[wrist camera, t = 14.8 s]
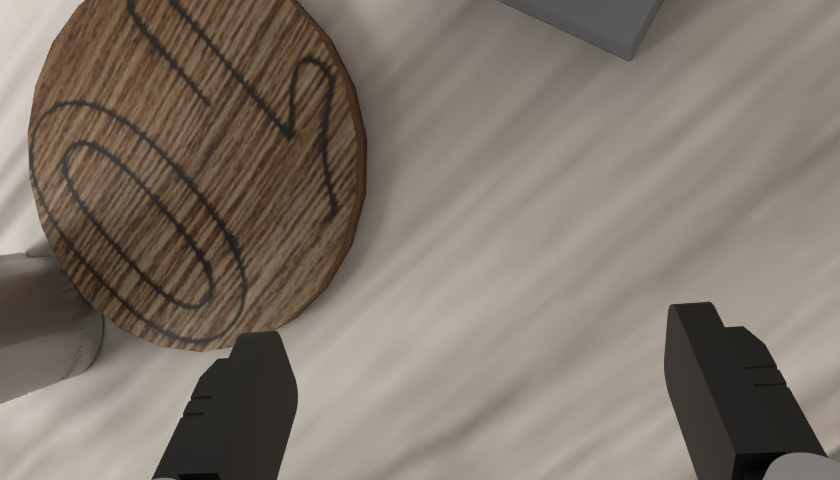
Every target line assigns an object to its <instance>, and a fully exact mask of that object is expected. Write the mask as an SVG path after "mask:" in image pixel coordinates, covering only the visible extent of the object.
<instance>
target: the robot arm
mask: <svg viewBox="0 0 840 480" xmlns="http://www.w3.org/2000/svg"><path fill="white" fill-rule="evenodd" d="M102 331H103V322H102V313H101V312H100V311H99V310H97V309H96V308H95V307H94V306H92V305H91V304H90V303H89V302H88V301H87V300H86V299H85V297H84V296H83V295H82V294H81V292H80V291H79V290H78V288H77V287H76V286H75V284H74V283H73V282H72V281H71V279H70V278H69V277H68V275H67V274H66V273H65V271H64V270H63V269H62V268H61V266H60V264H59V262H58V260H57V258H56V257H49V256H43V257H36V258H31V257H28V256H27V255H25V254H24V253H16V254H9V255H1V256H0V404H2V403H5V402H7V401H10V400H13V399H15V398H18V397H21V396H23V395H26V394H29V393H31V392H34V391H37V390H39V389H42V388H44V387H47V386H50V385H52V384H55V383H58V382H60V381H63V380H66V379H68V378H71V377H74V376H76V375H78V374H80V373H81V372H83V371H84V370H86V369H87V368H88V367H89V365H90V364H91V363H92V362H93V361H94V359H95V357H96V355H97V353H98V351H99V348H100V344H101V340H102ZM664 372H665V380H666V385H667V390H668V393H669V396H670V399H671V402H672V405H673V408H674V411H675V414H676V417H677V420H678V422H679V425H680V428H681V431H682V434H683V437H684V440H685V443H686V446H687V449H688V452H689V455H690V458H691V460H692V463H693V466H694V469H695V472H696V475H697V478H698V480H840V464H839V463H837V462H835V461H833V460H831V459H829V458H828V456H827V455H826V453H825V452H824V450H823V448H822V446H821V444H820V443H819V441H818V439H817V437H816V435H815V434H814V432H813V430H812V428H811V426H810V425H809V423H808V421H807V419H806V417H805V416H804V414H803V412H802V410H801V408H800V407H799V405H798V403H797V401H796V399H795V398H794V396H793V394H792V392H791V390H790V388H787V385H786V381H785V379H784V378H783V376H782V374H781V372H780V370H777V365H776V363H775V361H774V360H773V358H772V356H771V354H770V352H769V351H768V349H767V347H766V345H765V344H764V343H763V342H762V341H760V340H759V339H758V338H757V337H756V336H754V335H753V334H752V333H751V332H750V331H748V330H747V329H746V328H745V327H743V326H739V327H724V325H723V323H722V321H721V319H720V317H719V315H718V313H717V311H716V309H715V307H714V305H713V304H712V303H711V302H699V303H684V304H671V305H670V306H669V310H668V318H667V331H666V343H665V355H664ZM297 404H298V390H297V384H296V380H295V377H294V374H293V371H292V368H291V365H290V362H289V360H288V357H287V354H286V351H285V348H284V345H283V342H282V339H281V337H280V335H279V333H278V332H277V331H265V332H251V333H241V334H240V335H239V336H238V338H237V340H236V342H235V344H234V347H233V349H232V351H231V353H230V356H229V358H223V359H217V360H216V361H215V362H214V363H213V364H212V365H211V366H210V367H209V368H208V370H207V371H206V372H205V373H204V374H203V375H202V376H201V377H200V379H199V381H198V383H197V385H196V387H195V389H194V391H193V393H192V395H191V401H189V402H188V404H187V406H186V408H185V410H184V412H183V418H181V419H180V421H179V423H178V425H177V427H176V429H175V431H174V433H173V435H172V438H171V440H170V442H169V444H168V446H167V448H166V450H165V452H164V454H163V457H162V459H161V461H160V463H159V465H158V467H157V469H156V471H155V473H154V476H153V478H152V479H151V480H277V477H278V473H279V470H280V466H281V463H282V459H283V456H284V452H285V449H286V445H287V442H288V438H289V435H290V431H291V428H292V425H293V421H294V418H295V414H296V410H297Z"/></svg>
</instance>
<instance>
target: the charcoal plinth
mask: <svg viewBox="0 0 840 480" xmlns="http://www.w3.org/2000/svg"><path fill="white" fill-rule="evenodd" d="M498 1H500V2H502V3H504V4H506V5H509V6H511V7H513V8H515V9H517V10H519V11H522V12H524V13H526V14H528V15H530V16H532V17H535V18H537V19H539V20H541V21H543V22H545V23H548V24H550V25H552V26H554V27H556V28H558V29H561V30H563V31H565V32H567V33H569V34H571V35H574V36H576V37H578V38H580V39H582V40H584V41H587V42H589V43H591V44H593V45H595V46H597V47H600V48H602V49H604V50H606V51H608V52H610V53H613V54H615V55H617V56H619V57H621V58H623V59H626V60H628V61H631V59H632V57H633V55H634V53H635V52H636V50H637V48H638V46H639V44H640V42H641V41H642V39H643V37H644V35H645V33H646V31H647V30H648V28H649V26H650V24H651V22H652V21H653V19H654V17H655V15H656V13H657V11H658V10H659V8H660V6H661V4H662V2H663V0H498Z"/></svg>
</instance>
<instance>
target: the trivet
mask: <svg viewBox="0 0 840 480" xmlns="http://www.w3.org/2000/svg"><path fill="white" fill-rule="evenodd" d="M28 147H29V171H30V182H31V186H32V190H33V194H34V199H35V203H36V207H37V211H38V215H39V219H40V223H41V226H42V228H43V230H44V232H45V235H46V237H47V239H48V241H49V243H50V245H51V247H52V249H53V251H54V253H55V256H56V258H57V260H58V262H59V264H60V266H61V268H62V269H63V270H64V271H65V273H66V274H67V275H68V277H69V278H70V279H71V281H72V282H73V283H74V284H75V286H76V287H77V288H78V290H79V291H80V292H81V294H82V295H83V296H84V297H85V299H86V300H87V301H88V302H89V303H90V304H91V305H92V306H94V307H95V308H96V309H97V310H99V311H100V312H101V313H102V314H104V315H105V316H106V317H107V318H108V319H110V320H111V321H112V322H113V323H115V324H116V325H117V326H118V327H120V328H121V329H122V330H125V331H127V332H129V333H131V334H134V335H136V336H138V337H140V338H142V339H145V340H147V341H149V342H151V343H154V344H156V345H158V346H161V347H168V348H175V349H183V350H190V351H197V352H205V351H211V350H217V349H223V348H229V347H234V344H235V342H236V340H237V338H238V336H239V335H240V334H241V333H251V332H265V331H273V330H275V329H277V328H279V327H281V326H283V325H285V324H286V323H288V322H290V321H292V320H294V319H296V318H297V317H298V316H299V315H300V314H301V313H302V312H303V311H304V310H305V309H306V308H307V307H308V306H309V305H310V304H311V303H312V302H313V301H314V300H315V299H316V298H317V297H318V296H319V295H320V294H321V293H322V292H323V291H324V290H325V289H326V288H327V287H328V286H329V284H330V282H331V281H332V279H333V277H334V275H335V274H336V272H337V270H338V268H339V267H340V265H341V263H342V261H343V260H344V258H345V256H346V254H347V253H348V251H349V249H350V247H351V246H352V244H353V240H354V236H355V232H356V229H357V225H358V221H359V218H360V214H361V210H362V207H363V203H364V199H365V195H366V163H367V138H366V133H365V129H364V124H363V120H362V116H361V111H360V107H359V102H358V98H357V93H356V89H355V86H354V84H353V82H352V80H351V78H350V76H349V74H348V72H347V70H346V68H345V66H344V64H343V62H342V60H341V58H340V56H339V54H338V52H337V50H336V48H335V46H334V44H333V42H332V40H331V38H330V37H329V36H328V35H327V34H326V33H325V32H324V31H323V29H322V28H321V27H320V26H319V25H318V24H317V23H316V22H315V21H314V19H313V18H312V17H311V16H310V15H309V14H308V13H307V12H306V10H305V9H304V8H303V7H302V6H301V5H300V4H299V3H298V2H297V1H296V0H85V1H84V2H83V3H81V4H80V5H79V6H78V7H77V9H76V10H75V12H74V13H73V14H72V16H71V17H70V19H69V20H68V22H67V23H66V24H65V26H64V27H63V29H62V30H61V31H60V33H59V34H58V36H57V37H56V39H55V40H54V41H53V43H52V45H51V48H50V50H49V53H48V55H47V58H46V60H45V63H44V66H43V68H42V71H41V73H40V76H39V78H38V81H37V83H36V86H35V92H34V98H33V104H32V110H31V116H30V122H29V129H28Z"/></svg>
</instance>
